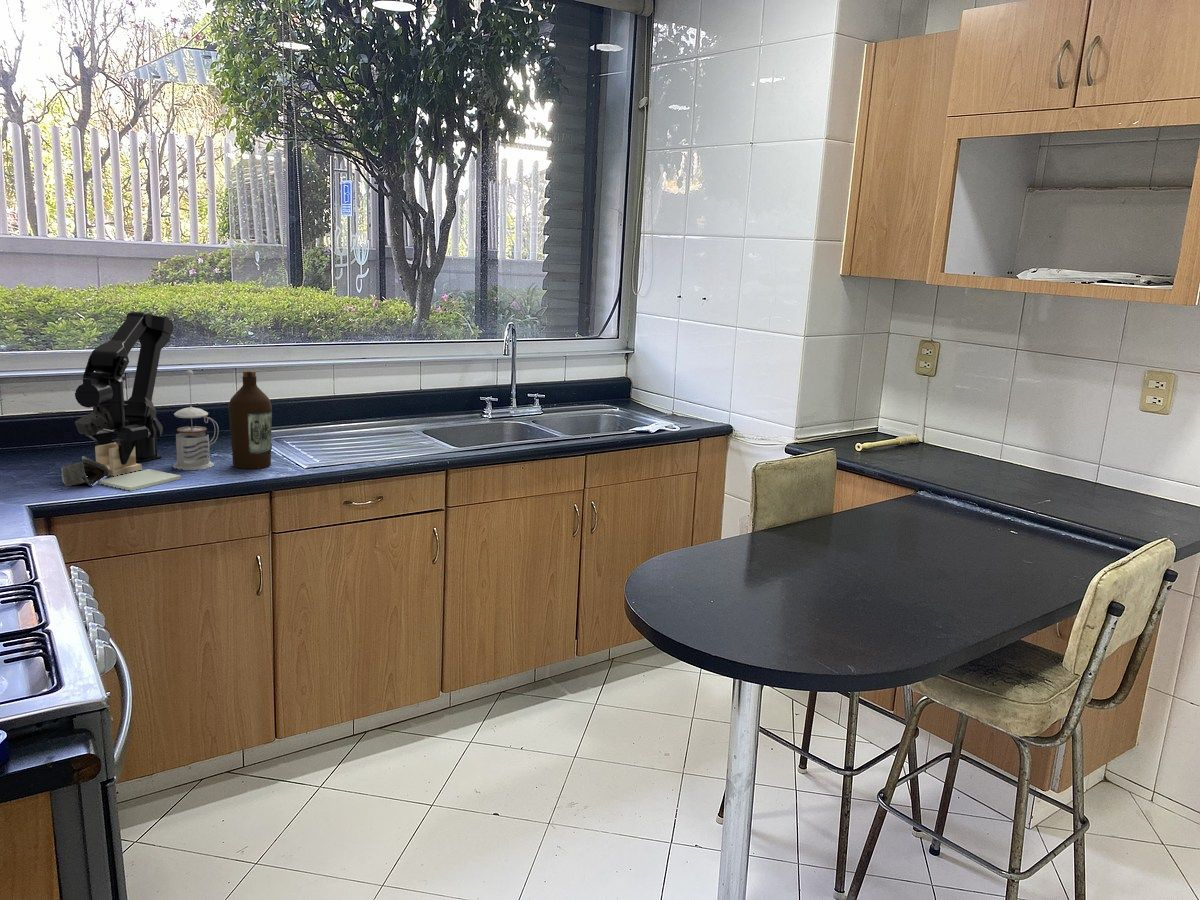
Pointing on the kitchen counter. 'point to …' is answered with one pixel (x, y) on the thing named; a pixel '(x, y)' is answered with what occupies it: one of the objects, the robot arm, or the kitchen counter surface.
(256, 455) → the olive oil
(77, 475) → the chocolate cake
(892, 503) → the kitchen counter surface
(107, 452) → the wooden slotted holder
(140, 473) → the sage board
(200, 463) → the french press
